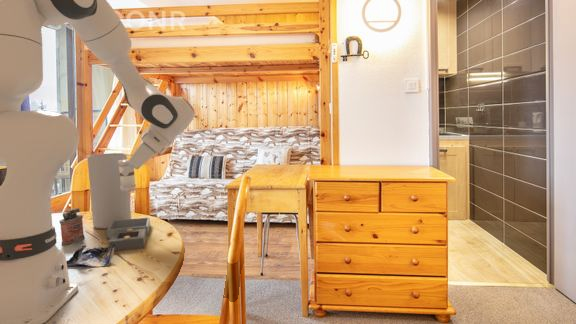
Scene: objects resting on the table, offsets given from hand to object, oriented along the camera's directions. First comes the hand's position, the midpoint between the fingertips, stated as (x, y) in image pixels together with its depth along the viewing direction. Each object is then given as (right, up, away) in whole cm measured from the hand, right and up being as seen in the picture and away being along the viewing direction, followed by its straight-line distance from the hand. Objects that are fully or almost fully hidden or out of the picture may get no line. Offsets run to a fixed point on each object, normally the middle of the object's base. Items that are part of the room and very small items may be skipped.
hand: (124, 173), depth 122 cm
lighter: (-15, -21, -2) cm, 26 cm away
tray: (-1, -20, +6) cm, 21 cm away
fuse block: (+4, -21, -7) cm, 23 cm away
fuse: (+1, -5, +1) cm, 5 cm away
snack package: (0, -23, -21) cm, 31 cm away
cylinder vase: (-11, -19, +16) cm, 28 cm away
